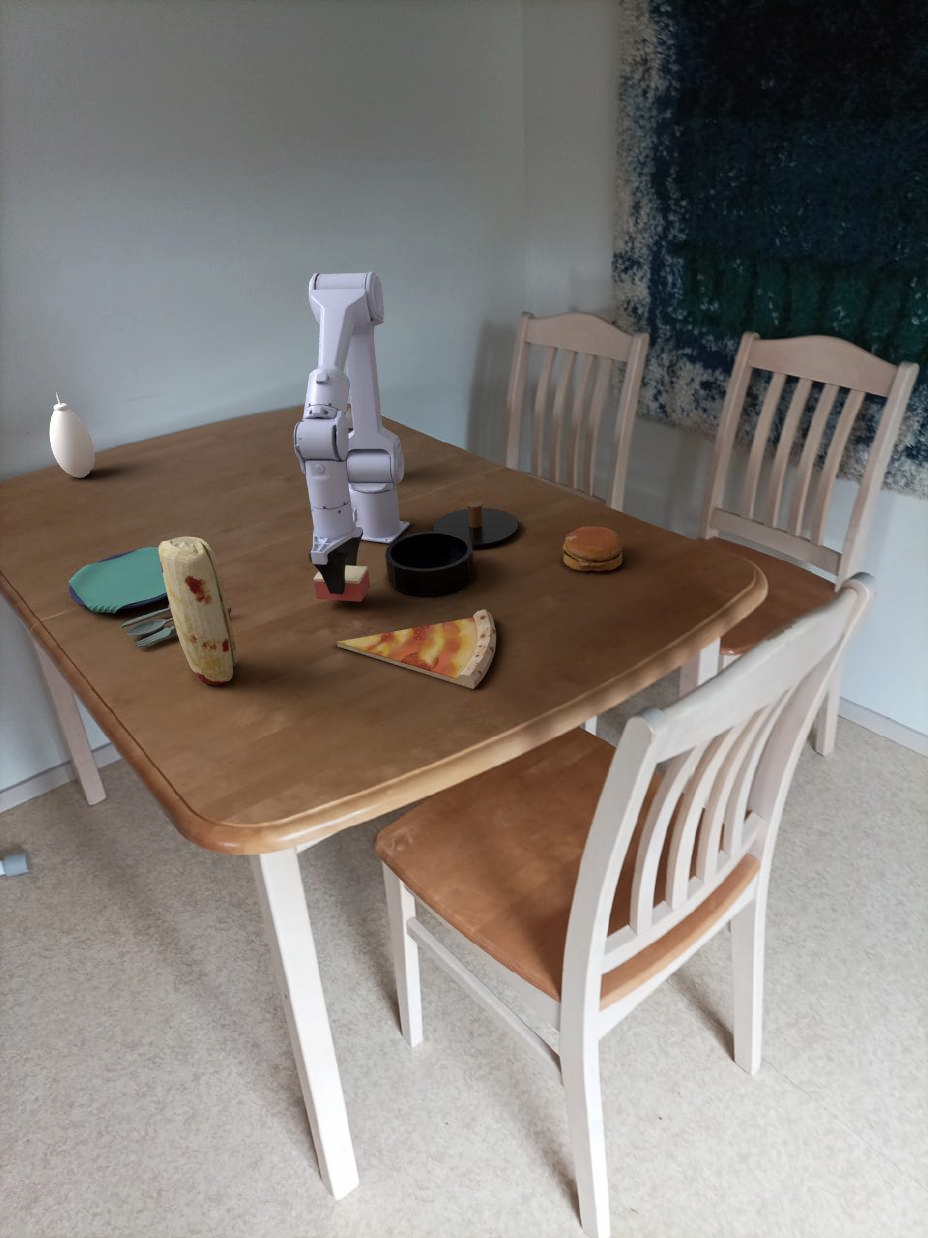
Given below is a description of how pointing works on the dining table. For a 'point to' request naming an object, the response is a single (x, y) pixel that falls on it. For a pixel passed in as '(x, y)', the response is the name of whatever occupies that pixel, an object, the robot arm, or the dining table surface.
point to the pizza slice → (437, 648)
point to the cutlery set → (126, 590)
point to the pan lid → (479, 524)
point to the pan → (429, 563)
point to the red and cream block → (346, 585)
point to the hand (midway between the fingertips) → (342, 584)
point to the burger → (592, 549)
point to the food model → (199, 607)
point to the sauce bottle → (71, 441)
